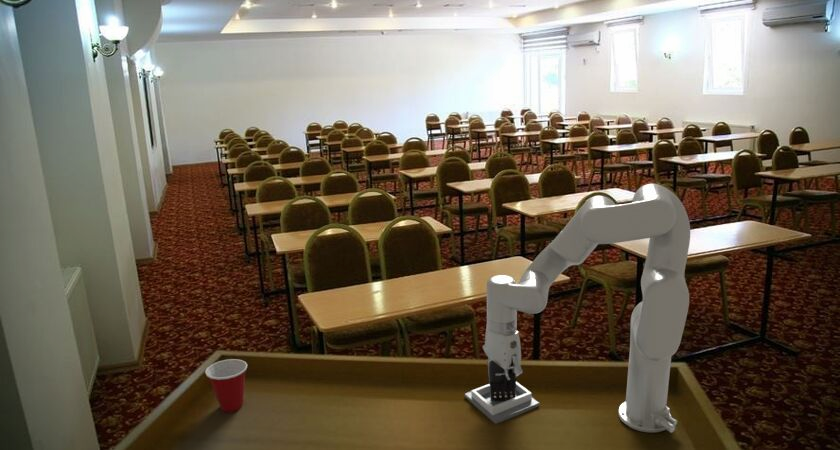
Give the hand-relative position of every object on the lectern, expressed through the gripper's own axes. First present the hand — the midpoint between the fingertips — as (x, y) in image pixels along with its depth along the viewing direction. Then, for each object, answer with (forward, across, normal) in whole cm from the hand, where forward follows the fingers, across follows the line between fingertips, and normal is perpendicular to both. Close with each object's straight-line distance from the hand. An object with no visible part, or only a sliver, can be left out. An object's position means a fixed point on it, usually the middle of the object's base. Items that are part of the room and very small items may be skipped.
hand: (501, 383), depth 164 cm
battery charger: (+5, 0, 0) cm, 5 cm away
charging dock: (+6, 0, 0) cm, 6 cm away
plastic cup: (+6, +38, +62) cm, 73 cm away
